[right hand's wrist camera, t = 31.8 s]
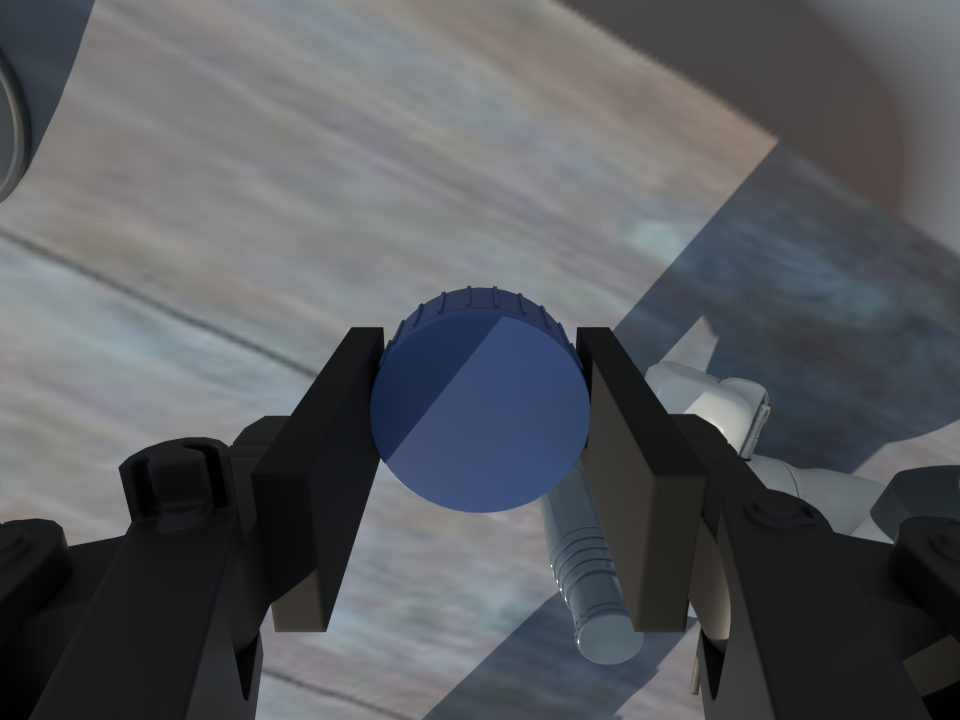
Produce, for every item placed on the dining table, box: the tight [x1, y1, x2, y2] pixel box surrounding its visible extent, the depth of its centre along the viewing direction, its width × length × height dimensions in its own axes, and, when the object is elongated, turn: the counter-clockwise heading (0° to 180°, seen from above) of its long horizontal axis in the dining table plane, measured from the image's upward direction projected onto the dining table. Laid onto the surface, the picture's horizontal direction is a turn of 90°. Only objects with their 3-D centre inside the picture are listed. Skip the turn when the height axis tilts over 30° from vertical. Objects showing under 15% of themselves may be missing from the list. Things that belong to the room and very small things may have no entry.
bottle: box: [539, 457, 644, 665], centre depth 40 cm, size 5×5×22 cm
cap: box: [370, 286, 591, 513], centre depth 13 cm, size 5×5×2 cm
